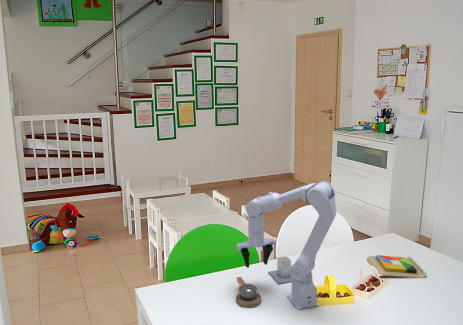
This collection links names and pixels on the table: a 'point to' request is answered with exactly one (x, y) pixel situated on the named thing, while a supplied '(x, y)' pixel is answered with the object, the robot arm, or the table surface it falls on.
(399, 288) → the table surface
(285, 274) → the translucent grey block
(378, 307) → the table surface
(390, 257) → the wooden puzzle
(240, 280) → the small saucepan
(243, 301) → the base
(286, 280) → the mat
